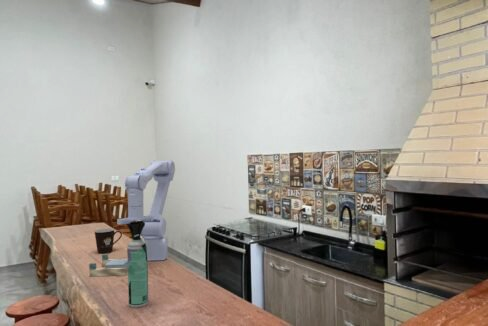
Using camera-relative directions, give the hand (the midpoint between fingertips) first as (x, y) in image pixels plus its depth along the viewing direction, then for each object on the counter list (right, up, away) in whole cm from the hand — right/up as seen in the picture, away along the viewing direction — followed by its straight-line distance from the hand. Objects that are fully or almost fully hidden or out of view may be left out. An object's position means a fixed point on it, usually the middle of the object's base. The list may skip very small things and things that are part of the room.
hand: (135, 241), depth 137 cm
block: (-6, -11, -1) cm, 13 cm away
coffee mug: (-21, -11, +27) cm, 36 cm away
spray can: (+11, -11, -34) cm, 37 cm away
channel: (-8, -11, -1) cm, 13 cm away
